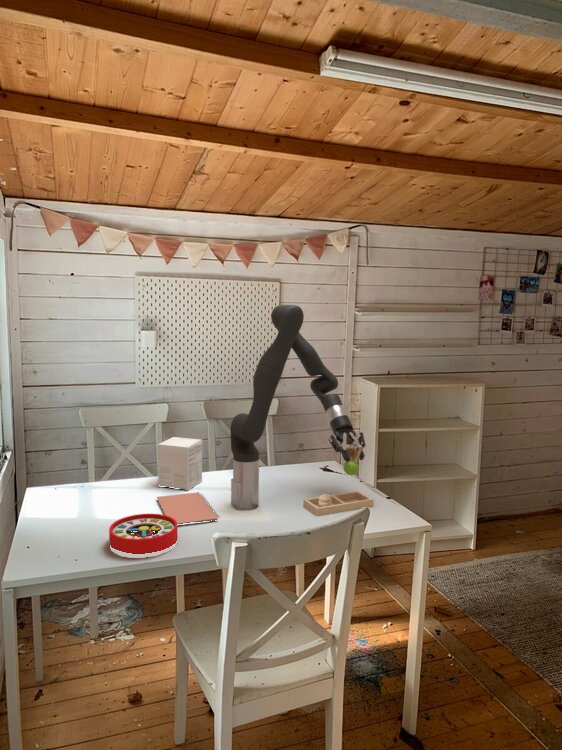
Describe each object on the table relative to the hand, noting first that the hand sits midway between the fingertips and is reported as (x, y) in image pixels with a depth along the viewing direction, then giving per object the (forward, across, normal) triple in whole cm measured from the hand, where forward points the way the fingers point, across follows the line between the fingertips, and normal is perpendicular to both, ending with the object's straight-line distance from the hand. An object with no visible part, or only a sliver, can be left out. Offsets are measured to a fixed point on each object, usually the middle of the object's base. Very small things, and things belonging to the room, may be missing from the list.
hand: (355, 459), depth 201 cm
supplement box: (-22, -49, +48) cm, 72 cm away
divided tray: (+12, -6, +14) cm, 19 cm away
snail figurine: (+3, 0, +6) cm, 7 cm away
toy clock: (+13, -75, +13) cm, 77 cm away
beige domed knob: (+11, -11, +13) cm, 20 cm away
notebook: (-2, -55, +28) cm, 62 cm away
